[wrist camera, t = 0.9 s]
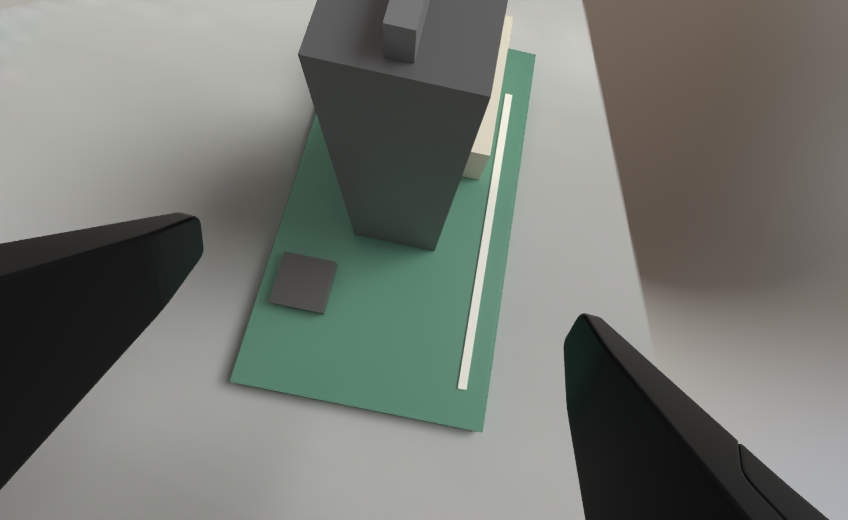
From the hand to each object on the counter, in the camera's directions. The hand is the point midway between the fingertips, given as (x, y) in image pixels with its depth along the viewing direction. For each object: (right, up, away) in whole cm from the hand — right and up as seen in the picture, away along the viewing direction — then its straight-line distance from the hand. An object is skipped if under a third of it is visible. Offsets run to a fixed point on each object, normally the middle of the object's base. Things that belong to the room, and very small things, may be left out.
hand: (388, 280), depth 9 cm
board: (0, +5, +16) cm, 17 cm away
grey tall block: (0, +5, +15) cm, 16 cm away
